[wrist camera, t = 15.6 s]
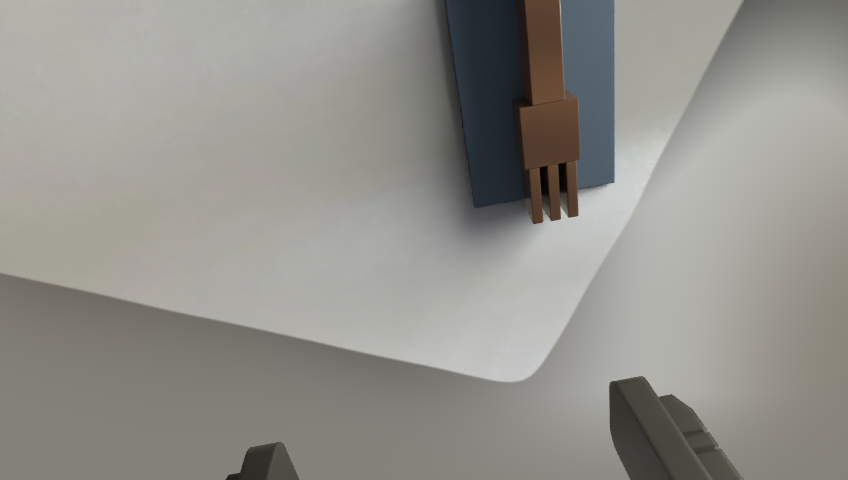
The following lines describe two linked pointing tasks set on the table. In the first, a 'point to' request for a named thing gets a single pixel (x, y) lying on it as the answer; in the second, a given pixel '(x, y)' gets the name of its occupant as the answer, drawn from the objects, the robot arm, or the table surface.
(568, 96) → the fork
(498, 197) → the mat
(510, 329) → the table surface
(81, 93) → the table surface
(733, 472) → the robot arm
